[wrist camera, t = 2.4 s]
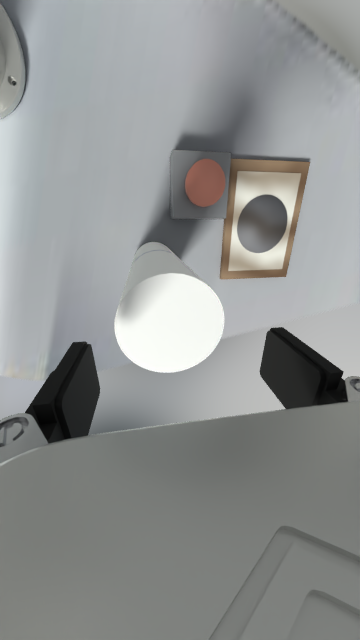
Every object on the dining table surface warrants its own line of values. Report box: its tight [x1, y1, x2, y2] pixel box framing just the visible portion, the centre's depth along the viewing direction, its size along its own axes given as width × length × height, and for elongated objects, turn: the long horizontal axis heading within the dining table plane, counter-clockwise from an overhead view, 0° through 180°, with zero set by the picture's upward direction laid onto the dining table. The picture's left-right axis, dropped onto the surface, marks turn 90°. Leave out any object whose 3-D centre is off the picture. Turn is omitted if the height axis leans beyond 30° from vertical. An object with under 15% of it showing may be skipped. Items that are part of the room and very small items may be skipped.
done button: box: [185, 159, 225, 207], centre depth 29 cm, size 5×5×4 cm
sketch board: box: [220, 159, 310, 279], centre depth 36 cm, size 18×13×1 cm
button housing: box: [170, 150, 231, 219], centre depth 31 cm, size 8×8×4 cm
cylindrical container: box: [115, 242, 224, 373], centre depth 25 cm, size 7×7×25 cm
